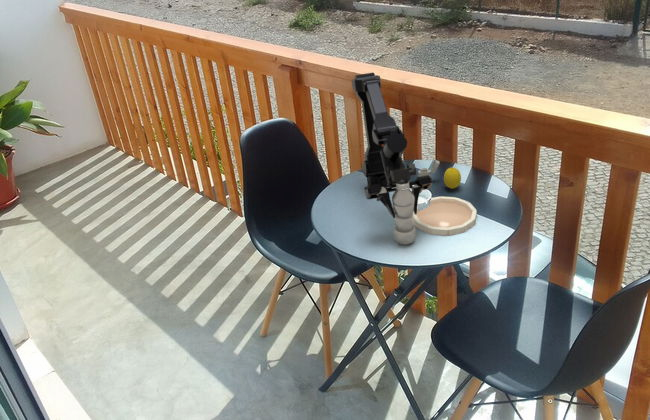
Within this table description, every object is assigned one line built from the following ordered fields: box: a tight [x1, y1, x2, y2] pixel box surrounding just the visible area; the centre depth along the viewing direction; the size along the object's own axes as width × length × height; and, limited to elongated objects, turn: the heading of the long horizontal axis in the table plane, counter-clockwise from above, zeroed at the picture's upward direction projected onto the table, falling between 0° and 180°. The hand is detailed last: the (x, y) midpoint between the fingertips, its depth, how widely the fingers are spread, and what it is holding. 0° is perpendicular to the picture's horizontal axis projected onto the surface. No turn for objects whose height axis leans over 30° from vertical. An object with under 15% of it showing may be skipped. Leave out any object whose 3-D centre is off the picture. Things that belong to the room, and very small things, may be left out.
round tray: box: [413, 195, 478, 237], centre depth 182 cm, size 19×19×2 cm
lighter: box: [417, 159, 440, 178], centre depth 201 cm, size 7×2×8 cm, turn 83°
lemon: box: [443, 166, 462, 190], centre depth 195 cm, size 6×6×8 cm
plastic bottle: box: [391, 180, 417, 246], centre depth 169 cm, size 6×7×20 cm
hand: (405, 216), depth 168 cm, fingers closed on plastic bottle, 6 cm apart
